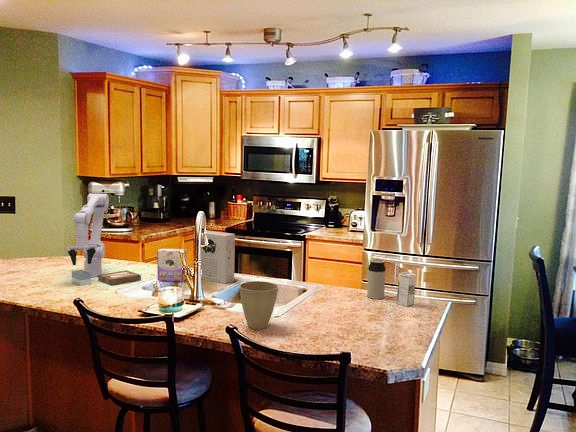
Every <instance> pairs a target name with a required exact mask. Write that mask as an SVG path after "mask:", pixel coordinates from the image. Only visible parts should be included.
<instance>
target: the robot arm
mask: <svg viewBox="0 0 576 432" xmlns="http://www.w3.org/2000/svg"><path fill="white" fill-rule="evenodd" d="M86 199H87V200H86V201H87V203H86V204H84V205H83V206H82V207H81V209H80V210H79V211H78V212H76V213H75V214H74V215H73V222H74V228H75V245H71V246H66V251H67V253H68V255H69V257H70V260H71V264H72V265H73V266H76V265H77V255H78V251H82V254H83V257H84V258H85V260H84V262H83V270H84V271H86V272H89V273H90V278H96V277H98V275H100V274H104V273H102V269H103V268H102V266H103V265H102V259H103V258H104V257H105V254H106V250H105V248H106V245H105V244H104V243H103V242H102V241H101V236H102V231H103V230H102V229H103V224H104V215H105V212H106V211H108V209H109V204H110V198H109V195H108V194H107V193H91V192H90V193H88V195H87V197H86ZM93 214H94V215H93ZM92 216H93V220H92ZM91 220H92V221H93V222H92V228H91V233H90V234H91V235H90V240H89V225H90V224H91Z"/></svg>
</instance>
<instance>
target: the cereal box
mask: <svg viewBox="0 0 576 432" xmlns="http://www.w3.org/2000/svg"><path fill="white" fill-rule="evenodd" d="M235 236H236V234H235V233H229V232H222V231H214V230H208V229H207V238H208V243H209V244H208V246H205V247H202V249H201V269H202V279H201V280H206V281H210V282H214V283H219V284H220V283H221V284H229V283H231V282H234V281H235V255H236V254H235V251H236V249H235V248H236V247H235V242H236V240H235V239H236V237H235ZM194 239H195V231H194V233H193V240H194Z"/></svg>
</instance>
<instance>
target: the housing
mask: <svg viewBox="0 0 576 432" xmlns="http://www.w3.org/2000/svg"><path fill="white" fill-rule="evenodd" d="M71 284H75V285H77V286H80V287H82V286H89V285H91V277H90V273H89V272H86V271H84V269H79V270H72V271H71Z"/></svg>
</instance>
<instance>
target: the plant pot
mask: <svg viewBox="0 0 576 432" xmlns="http://www.w3.org/2000/svg"><path fill="white" fill-rule="evenodd" d="M278 291H279V285H278V284H277V283H274V282H269V281H260V280H253V281H245V282H242V283H240V284H239V295H240V301H241V306H242V310H243V315H244V319H245V321H246V323H247V326H248V328H250V329H254V330H262V329H266V328H267V327H268V325H269V324H270V323H269V322H270V321H271V317H272V315H273V311H274V309H275V304H276V301H277V296H278Z"/></svg>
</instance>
